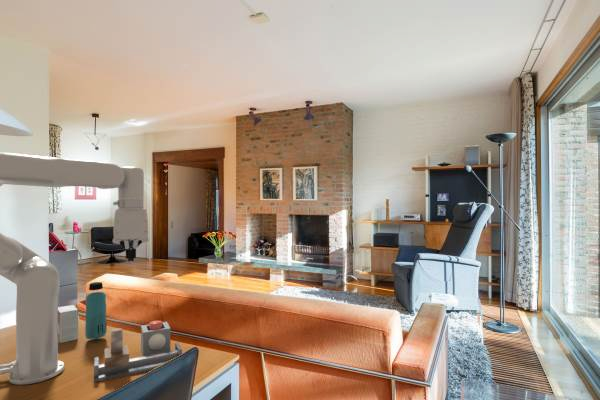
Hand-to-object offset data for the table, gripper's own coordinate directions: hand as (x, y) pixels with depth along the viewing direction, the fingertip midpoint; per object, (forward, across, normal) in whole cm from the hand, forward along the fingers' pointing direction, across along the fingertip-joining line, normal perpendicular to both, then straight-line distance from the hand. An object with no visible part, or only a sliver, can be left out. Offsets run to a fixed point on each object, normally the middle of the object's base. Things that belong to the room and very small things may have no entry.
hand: (130, 260), depth 117 cm
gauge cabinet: (+29, +7, -6) cm, 31 cm away
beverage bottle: (+29, -10, +14) cm, 34 cm away
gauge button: (+23, +7, -6) cm, 25 cm away
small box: (+29, -19, +21) cm, 41 cm away
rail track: (+29, +2, -15) cm, 33 cm away
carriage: (+26, -4, -15) cm, 31 cm away
